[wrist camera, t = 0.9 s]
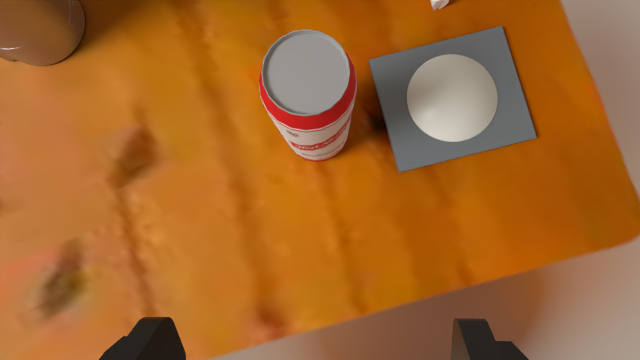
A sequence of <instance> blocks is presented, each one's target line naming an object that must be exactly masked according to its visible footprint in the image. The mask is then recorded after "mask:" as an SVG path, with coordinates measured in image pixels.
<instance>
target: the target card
mask: <svg viewBox="0 0 640 360" xmlns="http://www.w3.org/2000/svg"><path fill="white" fill-rule="evenodd" d="M369 66H370V69H371V73H372V77H373V81H374V84H375V88H376V92H377V95H378V99H379V103H380V106H381V110H382V114H383V117H384V121H385V125H386V128H387V132H388V136H389V139H390V143H391V147H392V150H393V154H394V158H395V162H396V165H397V169H398V173H400V172H404V171H408V170H412V169H416V168H420V167H424V166H428V165H432V164H435V163H439V162H443V161H447V160H451V159H455V158H459V157H463V156H467V155H471V154H475V153H479V152H483V151H487V150H491V149H495V148H499V147H503V146H507V145H511V144H515V143H519V142H523V141H527V140H531V139H535V138H537V136H536V133H535V130H534V127H533V124H532V120H531V117H530V114H529V111H528V108H527V104H526V101H525V98H524V95H523V92H522V88H521V85H520V82H519V79H518V76H517V72H516V69H515V66H514V63H513V60H512V56H511V53H510V50H509V47H508V44H507V40H506V37H505V34H504V31H503V28H502V26H500V27H496V28H492V29H488V30H484V31H480V32H476V33H472V34H468V35H464V36H460V37H456V38H453V39H449V40H445V41H441V42H437V43H433V44H429V45H425V46H421V47H417V48H413V49H409V50H406V51H402V52H398V53H394V54H390V55H386V56H382V57H378V58H374V59H370V60H369Z"/></svg>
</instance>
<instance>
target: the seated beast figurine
mask: <svg viewBox="0 0 640 360" xmlns="http://www.w3.org/2000/svg"><path fill="white" fill-rule="evenodd" d="M430 1H431V5H432V7H433V9H434V10H436V9H437V8H438V9H441V8H443V7H444V6H445V5H447V4H448V2H449V0H430Z"/></svg>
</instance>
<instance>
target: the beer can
mask: <svg viewBox="0 0 640 360" xmlns="http://www.w3.org/2000/svg"><path fill="white" fill-rule="evenodd" d="M259 89H260V97H261V100H262V102H263V104H264V107H265V109H266V111H267V113H268V114H269V116H270V117H271V119H272V120H273V122H274V123H275V125H276V126H277V128H278V129H279V131H280V132H281V134H282V135H283V137H284V138H285V140H286V141H287V143H288V144H289V146H290V147H291V149H292V150H293V151H294V152H295V153H296V154H297V155H298V156H300V157H302V158H304V159H305V160H308V161H314V162H319V161H326V160H328V159H330V158H332V157H334V156H336V155H337V154H338V153H339V152H340V151H341V150H342V149H343V147H344V145H345V143H346V141H347V137H348V132H349V127H350V122H351V117H352V112H353V107H354V102H355V96H356V90H357V79H356V72H355V68H354V66H353V64H352V62H351V60H350V58H349V56H348V54H347V53H346V52H345V51H344V50H343V48H342V46H341V45H340V44H339V43H338V42H337V41H336V40H335V39H334V38H332V37H331V36H329V35H327V34H325V33H323V32H321V31H315V30H308V29H305V30H298V31H292V32H290V33H288V34H286V35H284V36H282V37H280V38H279V39H278V40H277V41H276V42H275V43H274V44H273V45H272V46H271V47H270V48H269V50H268V52H267V54H266V56H265V57H264V60H263V65H262V68H261V73H260V79H259Z"/></svg>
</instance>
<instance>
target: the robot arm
mask: <svg viewBox="0 0 640 360" xmlns="http://www.w3.org/2000/svg"><path fill="white" fill-rule="evenodd" d="M84 28H85V15H84V11H83V8H82V6H81V4H80V2H79V1H78V0H0V57H1V58H3V59H5V60H7V61H14V60H20V61H22V62H25V63H27V64H30V65H36V66H46V65H50V64H54V63H57V62H59V61H61V60H63V59H64V58H66V57H67V56H69V55H70V54H71V53H72V52H73V51H74V50H75V48H76V47H77V46H78V44H79V42H80V41H81V39H82V36H83V33H84ZM99 360H186V354H185V350H184V348H183V345H182V343H181V340H180V337H179V335H178V332H177V329H176V327H175V324H174V322H173V320H172V319H171V318H170V317H144V318H142V319H140V320H139V321H138V323H137V324H136V325H135V327H134V328H133V329H132V331H131V332H130V333H129V335H128V336H123V337H122V338H121V339H120V340H118V341H117V342H116V343H115V344H114V345H112V346H111V347H110V348H109V349H108V350H106V351H105V352H104V354H103V355H102V356H101V358H100V359H99ZM451 360H528V358H527V357H526V356H525V355H524V354H523V353H522V352H521V351H520V350H519V349H518V348H517V347H516V346H515V345H514V344H513V343H512V342H511V341H508V342H507V341H495V339H494V336H493V334H492V332H491V329H490V327H489V325H488V323H487V321H486V320H485V319H454V322H453V334H452V348H451Z"/></svg>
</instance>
